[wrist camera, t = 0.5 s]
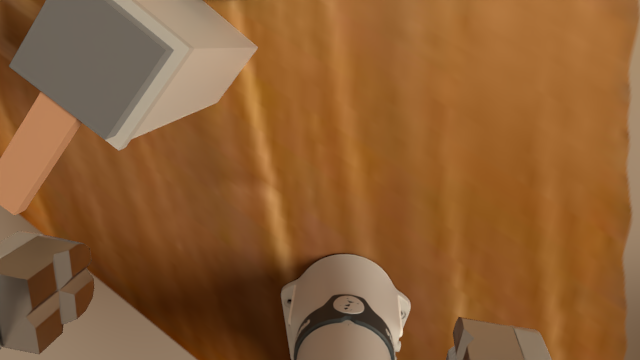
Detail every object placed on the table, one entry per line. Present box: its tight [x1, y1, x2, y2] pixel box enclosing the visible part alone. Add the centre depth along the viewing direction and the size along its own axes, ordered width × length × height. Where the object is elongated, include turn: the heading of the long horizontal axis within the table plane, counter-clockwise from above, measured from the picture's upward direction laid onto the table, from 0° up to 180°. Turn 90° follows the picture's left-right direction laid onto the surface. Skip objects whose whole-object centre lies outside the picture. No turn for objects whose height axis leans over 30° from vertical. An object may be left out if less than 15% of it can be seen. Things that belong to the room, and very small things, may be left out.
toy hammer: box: [0, 0, 174, 215], centre depth 33 cm, size 18×8×2 cm, turn 141°
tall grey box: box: [11, 0, 258, 150], centre depth 44 cm, size 10×10×26 cm
